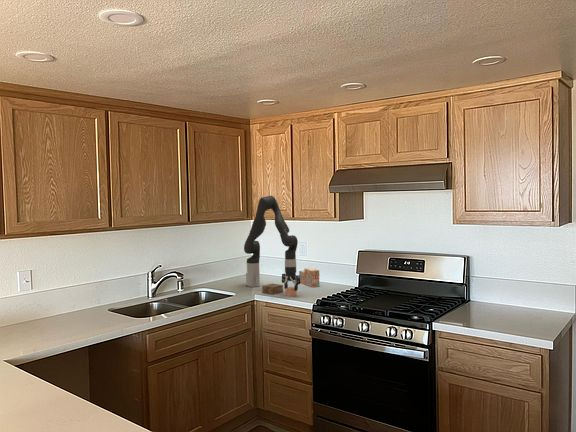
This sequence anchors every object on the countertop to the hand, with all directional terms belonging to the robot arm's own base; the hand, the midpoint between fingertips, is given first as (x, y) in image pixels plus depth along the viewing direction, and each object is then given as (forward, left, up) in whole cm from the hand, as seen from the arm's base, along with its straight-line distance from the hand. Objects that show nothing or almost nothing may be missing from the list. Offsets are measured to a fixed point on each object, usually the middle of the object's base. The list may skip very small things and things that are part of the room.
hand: (291, 290), depth 322 cm
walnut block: (-16, -1, -4) cm, 17 cm away
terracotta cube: (0, 0, -4) cm, 4 cm away
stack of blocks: (-14, +37, -4) cm, 39 cm away
